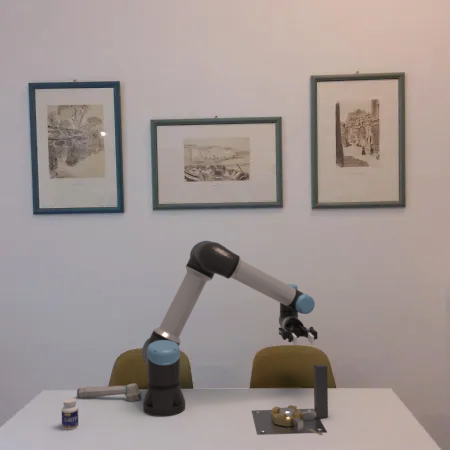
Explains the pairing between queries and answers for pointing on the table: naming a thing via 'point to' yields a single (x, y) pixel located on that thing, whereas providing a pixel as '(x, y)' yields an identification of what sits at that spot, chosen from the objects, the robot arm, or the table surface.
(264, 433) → the flange
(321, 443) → the table surface
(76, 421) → the pill bottle
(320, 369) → the grey and tan piece
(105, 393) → the grey elongated piece
